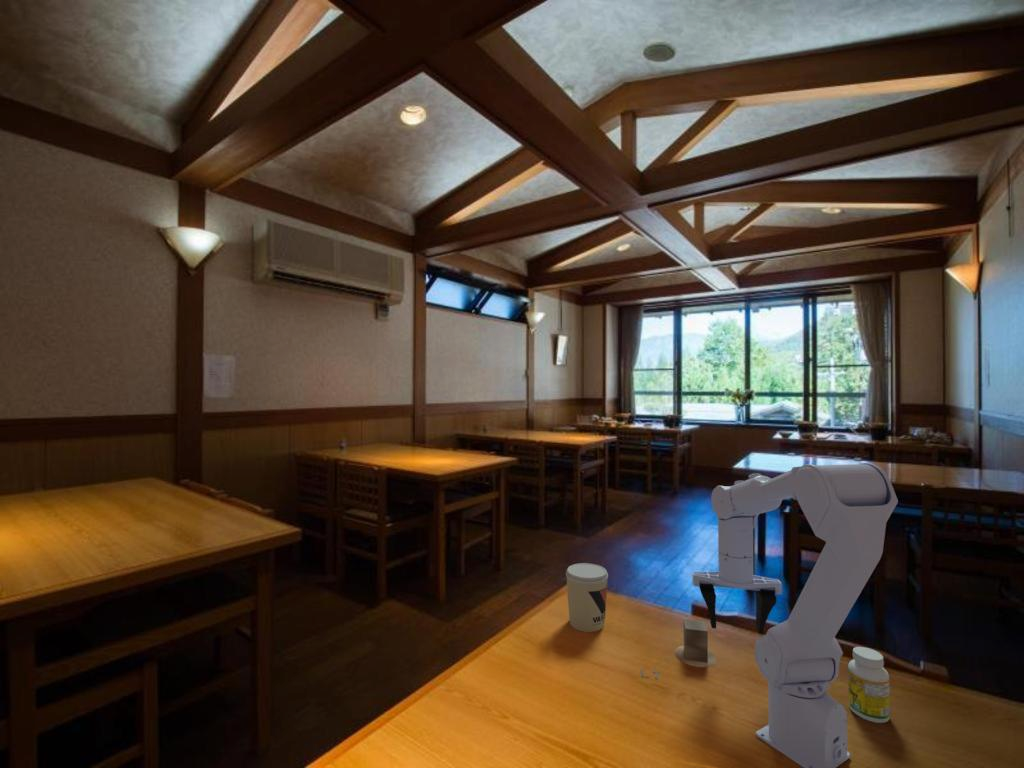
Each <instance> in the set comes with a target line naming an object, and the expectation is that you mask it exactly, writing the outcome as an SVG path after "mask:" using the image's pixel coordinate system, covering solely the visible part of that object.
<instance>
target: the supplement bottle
mask: <svg viewBox="0 0 1024 768" xmlns="http://www.w3.org/2000/svg"><path fill="white" fill-rule="evenodd" d="M852 657H853V659H851V660H850V661H849V663H848V665H847V669H848V670H847V674H848V675H847V678H848V679H847V681H848V707H849V709H850V710H851V712H853V713H854V714H855V715H857V716H858V717H860V718H861V719H863V720H866V721H868V722H872V723H876V724H884V723H887V722H889V720H890V717H891V716H890V715H891V714H890V713H891V706H890V703H891V702H890V675H889V673H888V671H887V670H886V669H885V667H884V665H885V660H884V659H885V658H884V656H883V655H882V653H880V652H879V651H877V650H874V649H872V648H869V647H866V646H865V647H864V646H855V647H853V649H852Z"/></svg>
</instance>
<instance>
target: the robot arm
mask: <svg viewBox="0 0 1024 768" xmlns="http://www.w3.org/2000/svg"><path fill="white" fill-rule="evenodd" d="M787 499H792V500H795V501H797V503H798V505H799V506H800V509H801V511H802V512H803V515H804V517H805V518H806V520H807V522H808V524H809V526H810V528H811V530H812V532H813V534H814V536H816V538H819V539H820V540H822V541H824V542H825V544H824V546H823V549H821V552H820V554H819V556H818V558H817V559H816V560H817V561H816V563H815V564H814V567H813V569H812V570H811V572H810V573H809V576H808V578H807V581H806V582H805V584H804V587H803V588H802V590H801V593H800V594H799V596H798V598H797V600H796V603H795V604H794V606H793V608H792V610H791V612H790V615H789V617H788V618H787V620H785V621H782V622H781V623H778V624H776V625H774V626H772V627H770V628H769V629H768V630H767V632H766V633H765V635H764V630H765V627H766V622H767V621H768V617H769V615H770V613H771V612H772V609H774V606H776V603H777V599H778V598H777V595H783V584H782V581H780V579H779V578H771V577H766V576H760V575H755V574H754V529H756V527H757V519H758V517H759V515H760V514H765V513H768V512H769V513H770V512H771V511H775V510H777V509H778V508H779V507H780V506H781V504H782V501H783V500H787ZM710 501H711V507H712V510H713V512H714V514H715V516H716V517H717V521H718V522H717V529H718V531H717V532H718V535H717V536H718V537H717V539H718V542H717V544H718V545H717V546H718V548H717V550H718V552H717V553H718V554H717V555H718V571H714V570H713V571H692V584H693V587H699V591H700V593H701V596H702V598H703V600H704V602H705V605H706V608H707V611H708V616H709V622H710V626H711V629H717V619H716V618H717V615H716V601H717V595H716V591H715V588H717V587H718V588H726V589H737V590H747V591H749V590H750V591H755V605H756V609H755V610H756V615H755V628H756V631H757V633H758V634H759V635H763V636H760V637H758V638H757V639H756V641H755V646H754V651H753V652H754V659H755V662H756V665H757V668H758V670H759V672H760V674H761V675H762V677H764V679H765V680H766V681H767V682H768V685H767V686H768V692H767V693H768V696H767V697H768V724H767V725H765V726H764V727H762V728H760V729H758V730H757V731H755V736H756V737H757V738H759V739H760V740H762V741H763V742H765V743H766V744H767V745H768V746H771V747H772V748H774V749H775V750H776V751H778V752H780V753H781V754H782V755H784V756H785V757H787V758H789V759H790V760H791V761H793V762H795V763H796V764H797V765H799V766H800V767H802V768H838V767H839V766H840V765H842V764H843V763H845V761H846V762H847V761H848V759H849V758H851V753H850V752H849V751H848V715H847V711H846V708H845V707H844V705H842V703H839V702H838V701H837V700H835V699H834V698H833V697H832V696H831V695H830V694H829V693H828V692H827V691H829V690H830V687H831V686H830V682H834V681H835V680H837V678H838V676H839V673H840V660H841V658H842V656H843V655H844V652H843V650H842V648H841V645H840V644H839V642H838V640H837V639H836V636H837V634H838V632H839V630H840V629H841V628H842V625H843V624H844V623H845V620H846V618H847V617H848V615H849V614H850V611H851V610H852V608H853V607H854V605H855V603H856V602H857V600H858V598H859V596H860V595H861V593H862V591H863V589H864V588H865V586H866V584H867V583H868V581H869V579H870V577H871V576H872V575H873V573H874V570H875V569H876V567H877V565H878V564H879V562H880V560H881V558H882V556H883V552H884V543H885V537H886V527H887V522H888V520H889V519H890V517H891V515H892V514H893V512H894V510H895V508H896V506H897V505H898V502H899V500H898V497H897V495H896V492H895V489H894V487H893V485H892V481H891V480H890V477H889V475H888V474H887V473H886V471H885V470H884V469H883V468H882V467H880V466H878V465H877V464H874V463H870V462H862V463H859V464H858V463H857V464H854V463H853V464H819V465H816V464H814V463H812V464H811V463H810V464H807V463H806V464H803V465H802V466H793V467H791V470H788V471H787V472H783V473H781V474H779V475H776V476H775V477H773V478H771V477H770V476H766V475H762V474H761V473H751V474H748V478H747V479H746V480H735V481H734V484H733V485H730V486H724V485H716V486H715V488H713V490H712V492H711V498H710Z"/></svg>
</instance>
